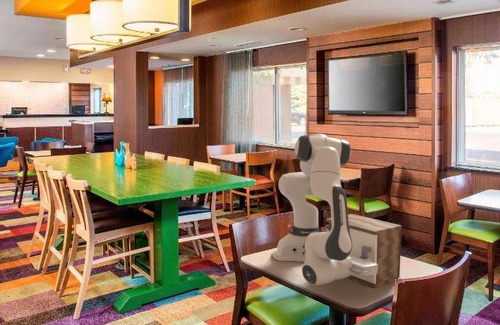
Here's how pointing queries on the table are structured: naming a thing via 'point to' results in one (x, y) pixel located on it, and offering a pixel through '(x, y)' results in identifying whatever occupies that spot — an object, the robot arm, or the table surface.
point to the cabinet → (379, 247)
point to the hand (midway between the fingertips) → (366, 259)
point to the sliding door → (364, 250)
